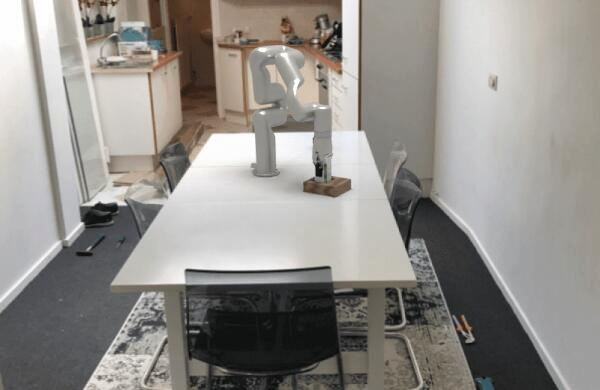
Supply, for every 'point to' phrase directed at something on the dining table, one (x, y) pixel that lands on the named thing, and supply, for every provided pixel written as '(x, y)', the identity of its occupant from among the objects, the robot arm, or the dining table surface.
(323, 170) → the syrup box
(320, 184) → the frame
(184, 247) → the dining table surface
